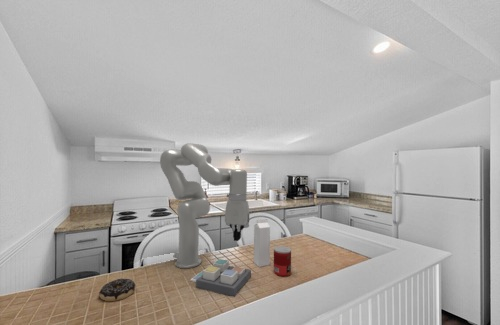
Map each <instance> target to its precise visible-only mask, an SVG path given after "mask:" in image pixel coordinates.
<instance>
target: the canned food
mask: <svg viewBox="0 0 500 325" xmlns="http://www.w3.org/2000/svg"><path fill="white" fill-rule="evenodd" d="M273 273H274V274H275V276H278V277H289V276H290V275H291V273H292V249H291V248H290V247H288V246H281V245H280V246H278V245H277V246H275V247H273Z"/></svg>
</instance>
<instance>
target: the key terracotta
mask: <svg viewBox="0 0 500 325" xmlns="http://www.w3.org/2000/svg"><path fill="white" fill-rule="evenodd" d="M233 267H234V268H233V269H232V270H233V271H238V275H237V276H240V277H241V276H242V275H243V274H244V273H245V269H246V268H242V267H238V266H233Z"/></svg>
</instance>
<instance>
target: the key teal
mask: <svg viewBox="0 0 500 325" xmlns="http://www.w3.org/2000/svg"><path fill="white" fill-rule="evenodd" d="M212 265H213V267H218V268H220V272H222V273H223V272H224V271H225V270H226V269H228V268H229V266H230V262H229V260H226V259H221V258H219V259H217V260H216V261H214V262H213V264H212Z"/></svg>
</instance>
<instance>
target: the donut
mask: <svg viewBox="0 0 500 325" xmlns="http://www.w3.org/2000/svg"><path fill="white" fill-rule="evenodd" d="M135 291H136V283H135V282H134V280H132V279H131V278H117V279H114V280H111V281H109V282H107V283H106V284H103V286H102V287H101V289H100V290H99V292H98V293H99V294H98V295H99V297H100V300H103V301H104V300H105V302H114V301H120V300H122V299H126V298H128V297H130V296H131V295H132V294H133V293H134V292H135Z"/></svg>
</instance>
